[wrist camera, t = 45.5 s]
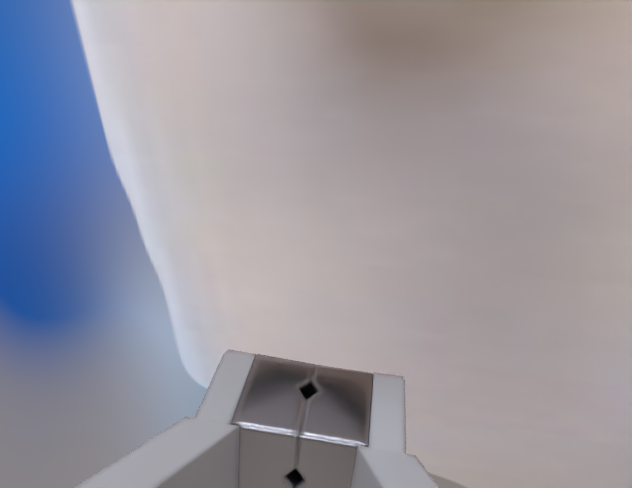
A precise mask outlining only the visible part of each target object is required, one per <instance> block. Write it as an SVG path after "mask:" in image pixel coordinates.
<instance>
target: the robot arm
mask: <svg viewBox="0 0 632 488" xmlns="http://www.w3.org/2000/svg"><path fill="white" fill-rule="evenodd" d="M74 488H439V487H438V485H437V484H436V483H435V481H434V480H433V479H432V477H431V476H430V474H429V473H428V472H427V470H426V469H425V468H424V466H423V465H422V464H421V462H420V461H419V460H418V458H417V457H416V456H415V455H410V454H406V416H405V380H404V378H403V376H395V375H388V374H380V373H373V374H372V373H368V372H362V371H355V370H348V369H342V368H335V367H328V366H322V365H315V364H310V363H304V362H299V361H293V360H288V359H282V358H276V357H271V356H265V355H260V354H258V355H256V354H252V353H246V352H240V351H235V350H228V351H227V352H226V353H225V354H224V355H223V357H222V359H221V361H220V363H219V365H218V367H217V370H216V372H215V374H214V376H213V378H212V381H211V383H210V385H209V387H208V389H207V392H206V394H205V396H204V398H203V401H202V403H201V405H200V407H199V409H198V411H197V414H196V416H195V418H189V417H184V418H183V419H181V420H180V421H178V422H177V423H175V424H173V425H172V426H170V427H169V428H167V429H166V430H164V431H163V432H161V433H159V434H158V435H156V436H154V437H153V438H151V439H150V440H148V441H146V442H145V443H143V444H142V445H140V446H138V447H137V448H135V449H134V450H132V451H131V452H129V453H127V454H126V455H125V456H123V457H121V458H120V459H118V460H116V461H115V462H113V463H112V464H110V465H108V466H107V467H105V468H104V469H102V470H100V471H99V472H97V473H96V474H94V475H93V476H91V477H89V478H88V479H86V480H85V481H83V482H81V483H80V484H78V485H77V486H75V487H74Z"/></svg>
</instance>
